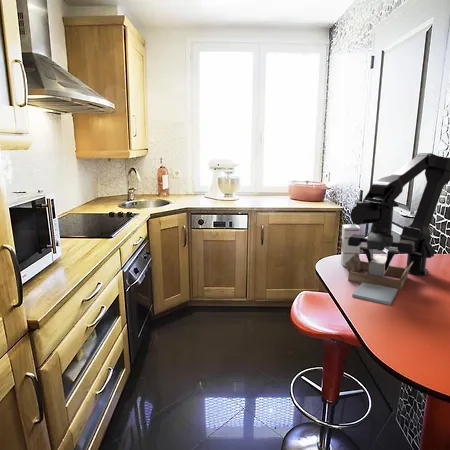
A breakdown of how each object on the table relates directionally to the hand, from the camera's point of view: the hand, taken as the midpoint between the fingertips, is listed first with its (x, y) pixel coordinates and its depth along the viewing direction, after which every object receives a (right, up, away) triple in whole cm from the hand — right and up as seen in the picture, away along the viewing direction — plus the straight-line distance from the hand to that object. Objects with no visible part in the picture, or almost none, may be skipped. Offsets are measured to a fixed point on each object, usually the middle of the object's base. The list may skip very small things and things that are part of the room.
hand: (378, 269), depth 110 cm
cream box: (+1, -1, +1) cm, 2 cm away
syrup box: (-4, 0, +16) cm, 16 cm away
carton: (0, -3, +1) cm, 4 cm away
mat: (-6, -6, -10) cm, 13 cm away
